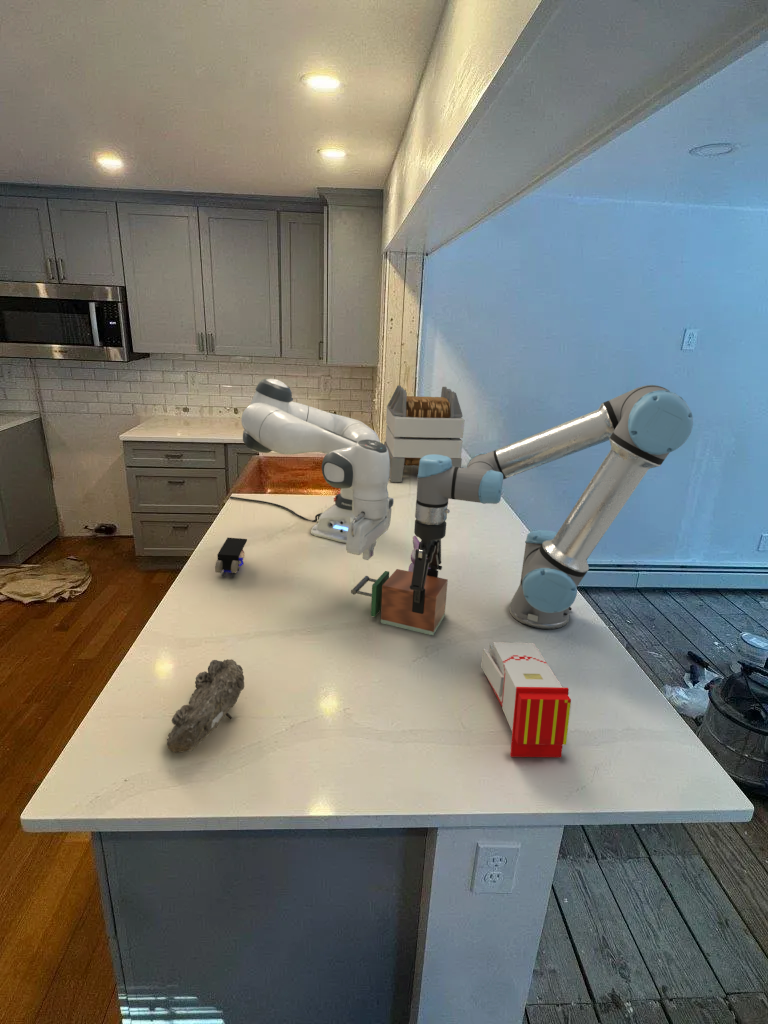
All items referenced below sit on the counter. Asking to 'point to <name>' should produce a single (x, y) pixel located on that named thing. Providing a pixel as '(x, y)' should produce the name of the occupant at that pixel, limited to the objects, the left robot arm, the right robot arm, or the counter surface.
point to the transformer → (422, 429)
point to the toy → (528, 698)
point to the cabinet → (401, 599)
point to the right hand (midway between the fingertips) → (424, 602)
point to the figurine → (415, 546)
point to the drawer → (373, 591)
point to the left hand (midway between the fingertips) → (368, 557)
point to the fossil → (206, 705)
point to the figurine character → (230, 556)
